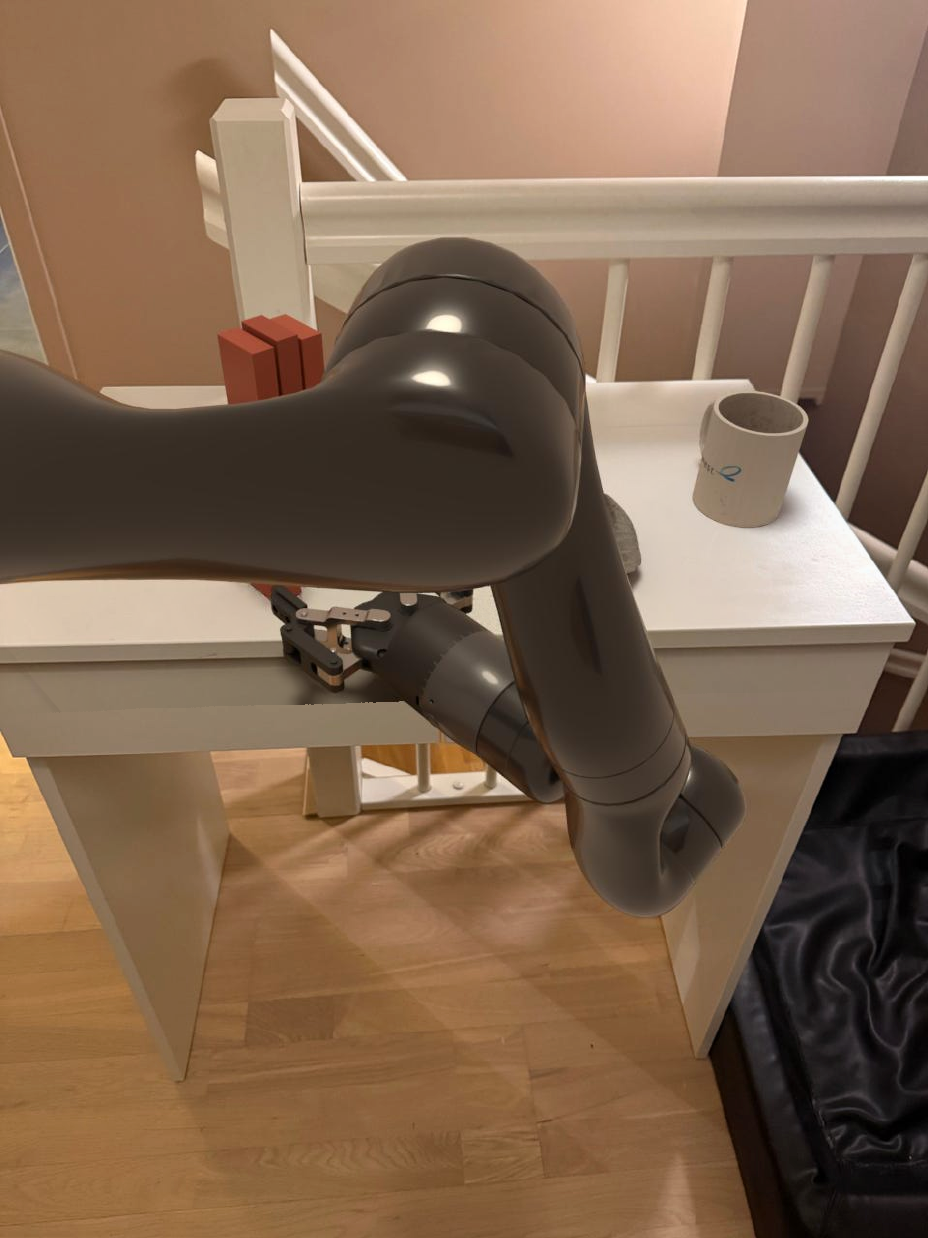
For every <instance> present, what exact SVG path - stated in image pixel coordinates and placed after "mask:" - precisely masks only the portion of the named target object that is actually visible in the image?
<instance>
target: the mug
mask: <svg viewBox="0 0 928 1238" xmlns="http://www.w3.org/2000/svg"><path fill="white" fill-rule="evenodd" d="M808 416H809V415H808V414H807V413H806V411H805V410H804V409H803V408H802V407H801V406H800V405H798V404H797V403H796V402H794V401H792V400H790V399H788V398H785V397H783V396H780V395H776V394H774V393H770V392H764V391H757V390H739V391H738V390H737V391H732V392H728V393H725V394H722V395H721V396H719V397H717V398H715V399H713V400H711V401H710V402H709V404H708V405H707V407H706V409H705V410H704V414H703V417H702V419H701V424H700V429H699V440H698V444H699V451H700V455H701V458H700V462H699V466H698V470H697V474H696V479H695V484H694V487H693V492H692V501H693V504H694V505H695V507H696V509H697V510H698V511H700V512H701V513H702V515H705V516H706V517H708V518H709V519H711V520H713V521H715V522H718V523H721V524H724V525H727V526H732V527H738V528H758V527H762V526H763V527H764V526H767V525H769V524H771V523H773V522H774V521H775V520H776V519H778V517H779V516H780V512H781V509H782V506H783V503H784V500H785V496H786V494H787V490H788V486H789V485H790V480H791V477H792V475H793V473H794V472H793V471H794V468H795V466H796V462H797V458H798V456H799V452H800V449H801V446H802V443H803V441H804V436H805V434H806V431H807V427H808V424H809V417H808Z"/></svg>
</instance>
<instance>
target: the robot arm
mask: <svg viewBox="0 0 928 1238" xmlns="http://www.w3.org/2000/svg"><path fill="white" fill-rule="evenodd" d="M333 344H334V345H333V348H332V349H331V353H330V355H329V358H328V361H327V363H326V365H325V367H324V373H323V376H322V378H321V381H320V384H318V385H316V386H314V387H312V388H309V389H306V390H303V391H300V392H297V393H293V394H288V395H284V396H279V397H274V398H270V399H264V400H258V401H251V402H245V403H238V404H228V403H227V404H215V405H206V406H204V405H203V406H194V407H192V406H191V407H181V408H149V407H141V406H134V405H130V404H127V403H123V402H120V401H118V400H115V399H114V398H111V397H110V396H108V395H105V394H103V393H102V392H100V391H98V390H96V389H94V388H93V387H91V386H89V385H87V384H85V383H83V382H81V381H80V380H78V379H76V378H74V377H72V376H71V375H68V374H67V373H64V372H62V371H61V370H59V369H57V368H55V367H52V366H50V365H48V364H46V363H44V362H42V361H40V360H38V359H34V358H32V357H29V356H26V355H22V354H19V353H16V352H13V351H9V350H6V349H0V586H2V585H12V584H22V583H23V584H24V583H25V584H27V583H37V582H39V583H41V582H68V581H69V582H72V581H78V582H79V581H81V582H82V581H162V580H163V581H166V580H167V581H169V580H170V581H209V582H226V583H227V582H228V583H241V584H242V583H243V584H250V583H255V584H270V585H274V586H272V587H271V595H270V599H269V601H270V608H271V613H272V614H273V615H274V616H275V617H276V618H277V619H278V620H279V621H281V622H282V623H283V625H281V627H280V628H279V632H280V637H281V642H282V654H283V657H284V658H285V660H287V661H288V662H289V663H292V664H293V665H294V666H295V667H297V668H298V669H299V670H301V671H302V672H303V673H305V674H306V675H307V676H308V677H310V678H311V679H313V680H314V681H315V682H317V683H318V684H319V685H320V686H322V687H323V688H324V689H326V690H327V691H329V692H330V693H333V694H338V693H341V692H343V691H344V690H345V687H346V684H345V681H346V679H348V678H349V677H351V676H352V675H354V674H355V673H356V672H358V671H359V670H361V671H366V672H369V673H372V674H374V675H376V676H377V677H378V678H379V680H381V681H382V683H383V684H384V685H385V686H386V687H387V689H388V690H390V692H392V693H393V694H395V696H396V697H398V698H399V699H400V700H402V701H403V702H404V703H405V704H407V705H408V706H409V707H410V708H412V709H413V710H414V711H415V712H416V713H418V714H419V715H420V716H422V717H423V718H424V719H425V720H426V721H427V722H429V724H430V725H431V726H432V727H434V728H436V729H437V730H438V731H440V732H441V733H442V734H443V735H445V736H446V737H447V738H448V739H450V740H451V741H453V742H454V743H455V744H457V745H458V746H460V747H461V748H463V749H465V750H467V751H469V752H470V753H471V754H474V755H475V756H477V758H479V759H480V760H481V761H482V762H484V763H485V764H486V765H488V766H489V767H490V768H491V769H493V770H494V771H495V772H496V773H497V774H499V775H501V777H502V778H504V779H505V780H506V781H507V782H508V783H510V784H511V785H512V786H513V787H515V788H516V789H517V790H518V791H520V792H521V793H522V794H524V795H525V796H527V797H528V798H529V799H531V800H532V801H535V802H537V803H539V804H543V805H549V804H555V803H557V802H560V801H562V800H564V807H565V818H566V826H567V827H566V828H567V834H568V839H569V845H570V848H571V852H572V855H573V857H574V859H575V862H576V864H577V867H578V868H579V870H580V872H581V875H582V876H583V878H584V879H585V881H586V882H587V884H588V885H589V887H590V888H591V889H592V890H593V892H594V893H595V894H596V895H597V896H598V897H599V898H600V899H601V900H602V901H603V902H604V903H606V904H607V905H608V906H609V907H611V908H612V909H614V910H615V911H618V912H620V913H621V914H623V915H626V916H629V917H632V918H633V917H634V918H639V919H653V918H657V917H661V916H664V915H666V914H668V913H670V912H671V911H673V910H674V909H675V908H676V907H677V906H679V905H680V903H681V902H682V901H683V900H684V899H685V898H686V896H687V895H688V894H689V893H690V892H691V890H692V889H693V887H694V886H695V885H696V883H697V882H698V881H699V880H700V878H701V877H702V876H703V875H704V874H705V873H706V871H707V870H708V869H709V867H710V866H711V865H712V864H713V862H714V861H715V860H716V859H717V858H718V857H719V856H720V854H721V853H722V851H723V850H725V848H726V846H727V845H728V844H729V843H730V842H731V840H732V839H733V838H734V837H735V835H736V834H737V832H738V831H739V830H740V829H741V827H742V825H743V823H744V822H745V819H746V818H747V810H748V804H747V798H746V794H745V791H744V788H743V786H742V785H741V783H740V781H739V779H738V778H737V776H736V775H735V773H734V772H733V770H731V768H729V766H728V765H727V764H726V763H725V762H723V761H722V760H721V759H720V758H718V757H717V756H716V755H714V754H712V753H711V752H710V751H708V750H706V749H704V748H703V747H700V746H698V745H696V744H695V743H692V742H690V738H689V736H688V732H687V730H686V726H685V724H684V722H683V720H682V717H681V714H680V711H679V709H678V706H677V704H676V701H675V699H674V696H673V693H672V691H671V689H670V686H669V684H668V682H667V680H666V677H665V674H664V672H663V670H662V667H661V665H660V662H659V659H658V657H657V655H656V652H655V649H654V646H653V644H652V640H651V638H650V636H649V633H648V631H647V628H646V625H645V622H644V619H643V617H642V615H641V611H640V609H639V606H638V603H637V600H636V597H635V594H634V591H633V588H632V585H631V582H630V580H629V577H628V573H626V570H625V567H624V564H623V561H622V557H621V554H620V551H619V548H618V545H617V541H616V538H615V534H614V530H613V527H612V523H611V519H610V515H609V511H608V507H607V503H606V499H605V495H604V493H605V492H604V487H603V483H602V479H601V474H600V470H599V465H598V460H597V454H596V449H595V444H594V437H593V431H592V424H591V418H590V417H591V416H590V411H589V404H588V396H587V390H586V389H587V388H586V386H587V383H586V381H587V380H586V379H587V370H586V369H587V368H586V364H585V363H586V362H585V355H584V350H583V347H582V341H581V338H580V334H579V330H578V327H577V324H576V322H575V319H574V317H573V315H572V312H571V310H570V308H569V307H568V305H567V304H566V301H564V299H563V297H562V296H561V294H560V293H559V291H558V290H557V287H556V286H554V285H553V283H552V282H551V281H549V279H548V278H547V277H546V276H545V275H544V274H543V273H542V272H541V271H540V270H539V269H538V268H537V267H536V266H535V265H534V264H532V263H530V262H529V261H527V260H526V259H524V258H523V257H522V256H520V255H519V254H518V253H516V252H514V251H512V250H510V249H508V248H505V247H503V246H500V245H498V244H496V243H493V242H491V241H487V240H482V239H476V238H472V237H467V236H449V237H448V236H446V237H445V236H444V237H443V236H442V237H437V238H433V239H428V240H424V241H419V242H415V243H413V244H411V245H408V246H405V247H404V248H402V249H400V250H398V251H396V252H395V253H394V254H392V255H391V256H389V258H387V259H386V260H385V261H383V262H382V263H381V264H380V265H378V266H377V267H376V268H375V269H374V270H373V272H372V273H371V275H370V276H369V277H368V278H367V279H366V281H365V282H364V283H363V285H362V286H361V287H360V289H359V290H358V292H357V294H356V295H355V297H354V299H353V301H352V303H351V304H350V306H349V309H348V311H347V313H346V315H345V317H344V319H343V321H342V323H341V326H340V328H339V330H338V332H337V335H336V337H335V341H334V343H333ZM283 585H284V586H283ZM285 586H299V587H301V588H314V589H315V588H316V589H330V590H341V591H342V590H343V591H357V592H358V591H361V592H374V593H375V592H376V593H378V594H377V595H376V596H375V597H374V598H373V599H371V600H368V601H365V602H362V603H359V604H358V605H356V606H355V607H353V608H351V607H350V608H349V607H341V606H332V607H330V609H328V610H324V609H315V608H310V607H309V606H308V604H307V603H306V602H305V601H304V600H302V599H301V598H300V597H299V596H298V595H295V594H293V593H292V592H291V591H290V590H288V589H287V588H286V587H285ZM486 587H490V590H491V594H492V598H493V601H494V605H495V608H496V611H497V616H498V622H499V625H500V629H501V633H502V637H503V639H502V638H501V637H499V635H497V634H495V633H494V632H492V631H491V630H489V629H488V628H487V627H485V626H484V625H482V624H481V623H479V621H477V620H475V619H474V618H473V617H471V616H469V615H468V614H470V613H471V612H473V608H474V606H473V605H474V590H476V589H482V588H486ZM431 594H436V595H431ZM342 625H346V626H349V628H350V629H349V631H350V632H349V633H350V637H347V636H345V635H344V634H343V630H342ZM315 626H317V627H324V628H325V629H326V630H325V629H318V628H315Z"/></svg>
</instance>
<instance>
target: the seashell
mask: <svg viewBox="0 0 928 1238" xmlns="http://www.w3.org/2000/svg"><path fill="white" fill-rule="evenodd" d="M604 495H605V499H606V503H607V507H608V511H609V515H610V519H611V523H612V527H613V530H614V534H615V538H616V541H617V545H618V548H619V551H620V554H621V557H622V561H623V564H624V567H625V570H626V573H627V574H628V573H629V574H630V573H633V572H635V571H636V569H637V567H638V566H640V565H642V554H641V551H640V544H639V539H638V535H637V531H636V528H635V526H634V523H633V521H632V519H631V518H630V516H629V515H628V514H627V512H626V511H625V509H624V508H623V507H622V506H621V505H620V504H619V503H618V502H617V501H616V500H615V499H613V497H612V496H611V495H609V494H608V493H605V492H604Z"/></svg>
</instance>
